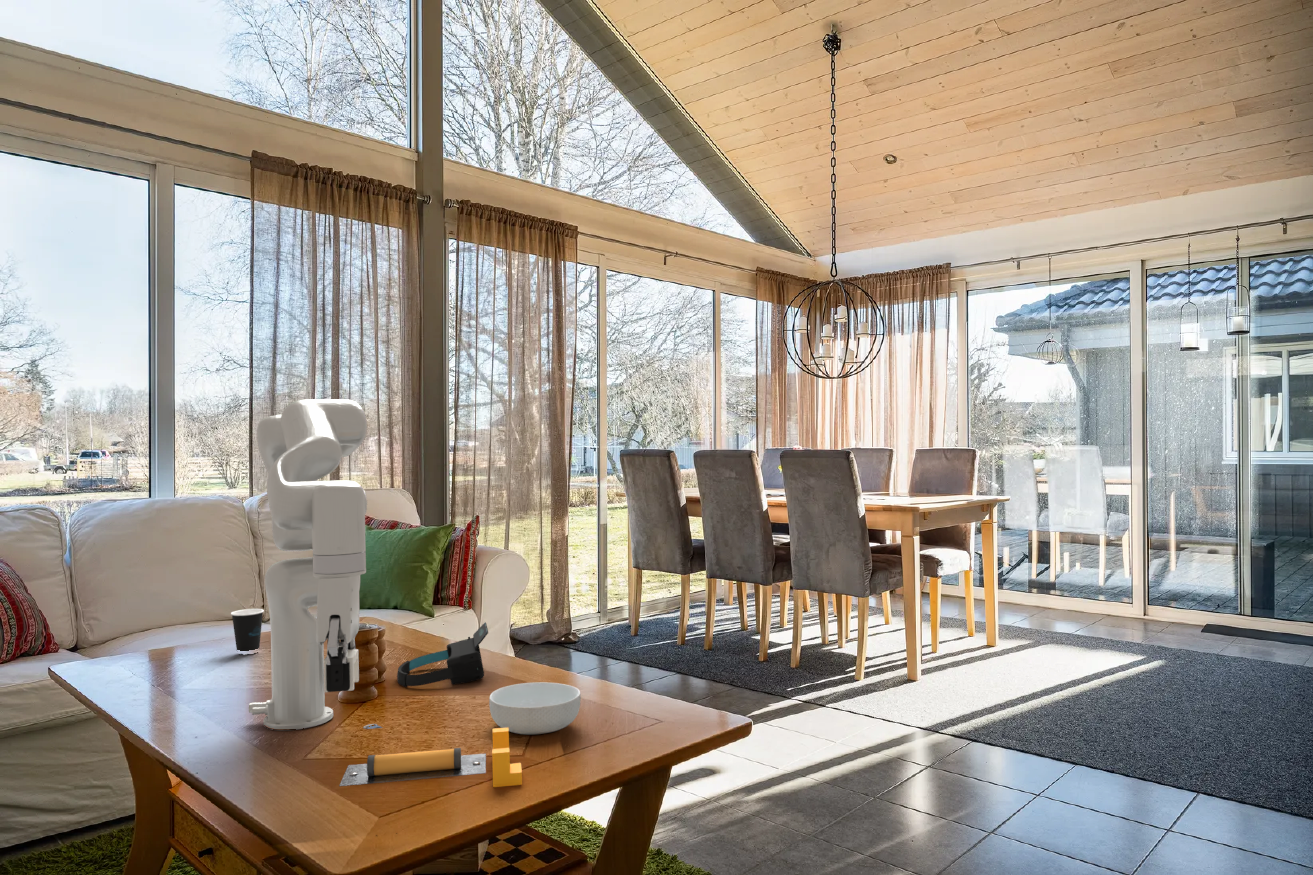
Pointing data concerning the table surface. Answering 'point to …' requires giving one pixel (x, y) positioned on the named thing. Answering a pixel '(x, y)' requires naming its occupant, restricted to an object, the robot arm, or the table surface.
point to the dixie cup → (247, 628)
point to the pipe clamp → (504, 761)
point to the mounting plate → (468, 767)
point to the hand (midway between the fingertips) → (341, 683)
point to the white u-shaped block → (354, 667)
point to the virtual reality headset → (448, 663)
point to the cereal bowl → (535, 707)
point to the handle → (413, 762)
